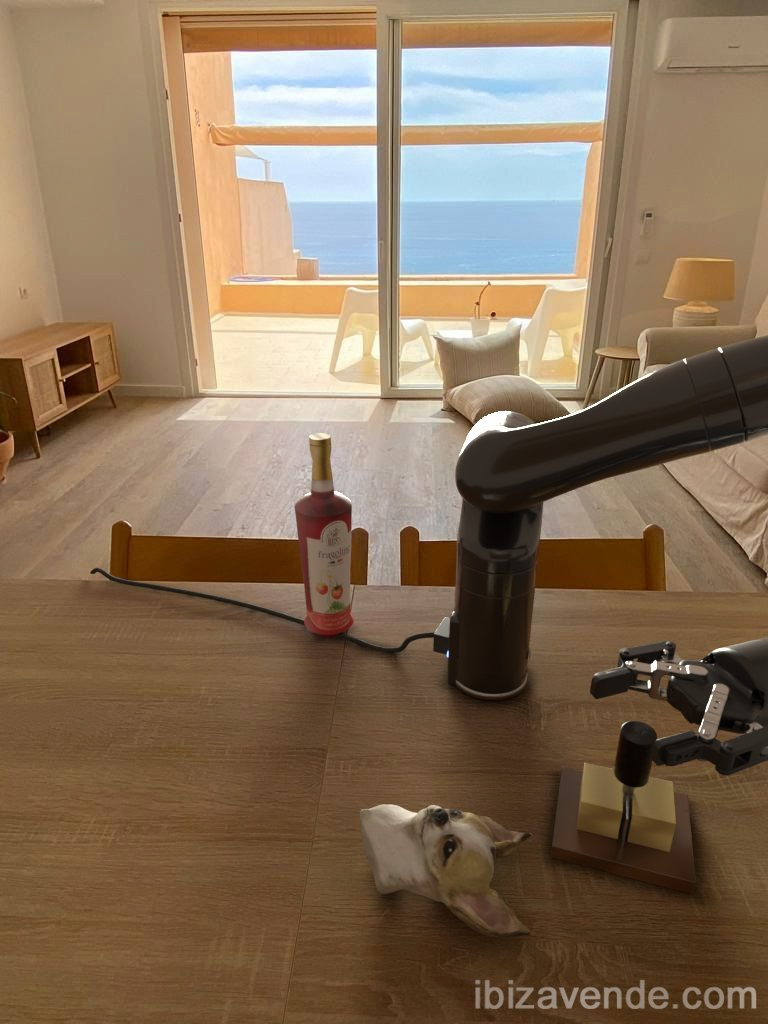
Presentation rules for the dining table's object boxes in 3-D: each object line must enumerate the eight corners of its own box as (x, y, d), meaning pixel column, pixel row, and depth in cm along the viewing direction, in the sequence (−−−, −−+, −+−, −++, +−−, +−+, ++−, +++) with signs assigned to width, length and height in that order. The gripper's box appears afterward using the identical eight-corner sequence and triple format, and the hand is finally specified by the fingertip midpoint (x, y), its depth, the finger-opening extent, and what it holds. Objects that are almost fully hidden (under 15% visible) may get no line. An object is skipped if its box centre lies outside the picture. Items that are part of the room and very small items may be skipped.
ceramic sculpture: (373, 751, 63) (541, 782, 61) (369, 818, 67) (527, 850, 64) (344, 850, 54) (541, 893, 51) (342, 922, 57) (525, 965, 55)
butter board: (550, 857, 63) (555, 817, 61) (560, 777, 72) (565, 740, 69) (692, 894, 60) (703, 853, 57) (685, 805, 68) (694, 767, 66)
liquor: (316, 649, 92) (304, 450, 80) (294, 623, 98) (280, 433, 86) (365, 633, 95) (360, 439, 84) (341, 608, 101) (333, 423, 89)
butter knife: (604, 842, 63) (620, 754, 58) (607, 789, 68) (621, 705, 64) (639, 851, 62) (658, 762, 57) (639, 797, 67) (656, 711, 63)
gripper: (721, 605, 68) (579, 636, 64) (851, 695, 56) (688, 742, 51) (706, 667, 72) (570, 701, 67) (826, 765, 59) (670, 815, 55)
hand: (621, 719), depth 59 cm, fingers open, 8 cm apart
